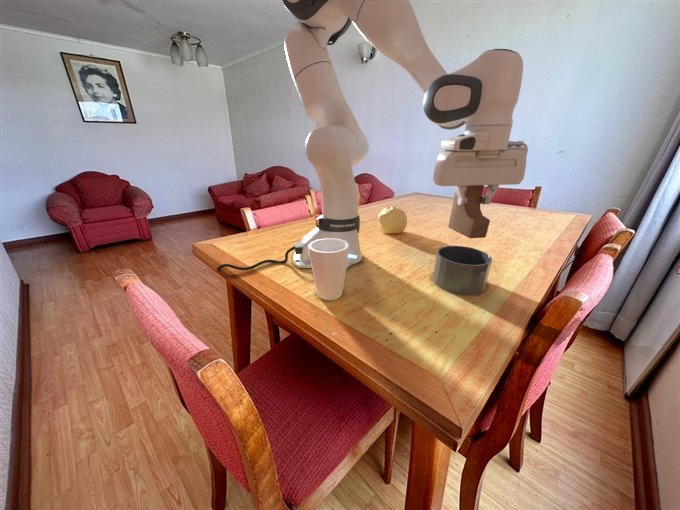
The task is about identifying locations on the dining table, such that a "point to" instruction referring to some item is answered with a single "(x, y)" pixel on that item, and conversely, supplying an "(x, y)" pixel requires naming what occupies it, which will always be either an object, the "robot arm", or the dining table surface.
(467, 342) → the dining table surface
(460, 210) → the wooden block
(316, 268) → the foam cup
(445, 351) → the dining table surface
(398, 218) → the sculpture
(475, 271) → the grey short cylinder
